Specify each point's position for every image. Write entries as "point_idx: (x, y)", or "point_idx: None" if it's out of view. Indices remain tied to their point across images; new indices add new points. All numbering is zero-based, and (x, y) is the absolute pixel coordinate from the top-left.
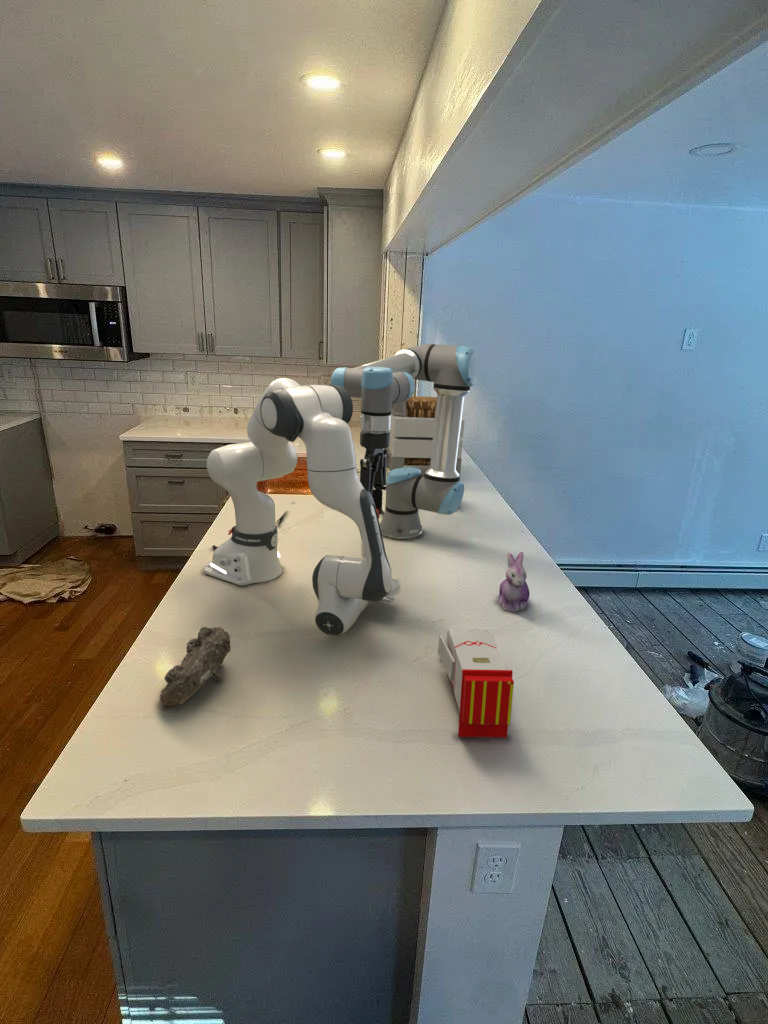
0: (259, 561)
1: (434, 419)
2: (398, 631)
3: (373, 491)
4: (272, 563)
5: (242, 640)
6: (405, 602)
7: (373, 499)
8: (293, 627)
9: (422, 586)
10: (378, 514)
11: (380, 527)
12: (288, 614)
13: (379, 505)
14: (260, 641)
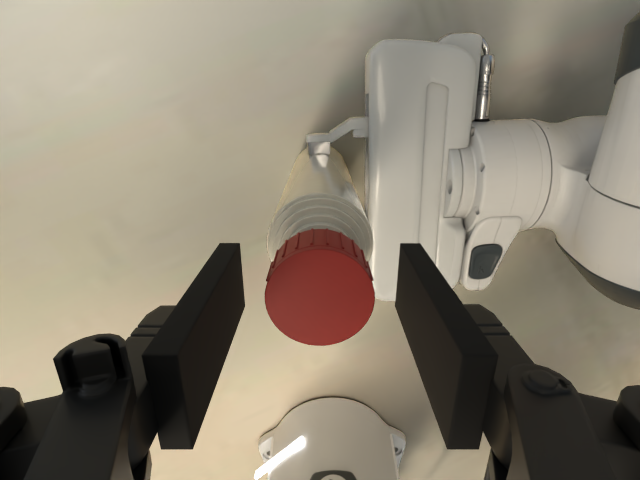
0: (377, 462)
1: None
2: (503, 4)
3: (194, 424)
4: (346, 435)
5: (617, 333)
6: (326, 44)
7: (457, 342)
8: (546, 269)
9: (196, 23)
10: (329, 240)
11: (304, 200)
12: (493, 303)
13: (225, 285)
14: (616, 302)
